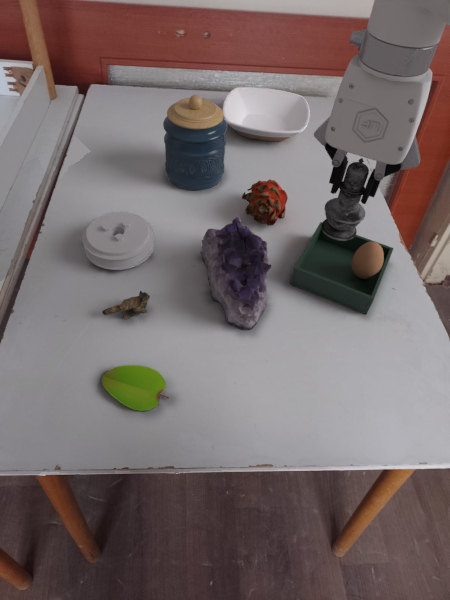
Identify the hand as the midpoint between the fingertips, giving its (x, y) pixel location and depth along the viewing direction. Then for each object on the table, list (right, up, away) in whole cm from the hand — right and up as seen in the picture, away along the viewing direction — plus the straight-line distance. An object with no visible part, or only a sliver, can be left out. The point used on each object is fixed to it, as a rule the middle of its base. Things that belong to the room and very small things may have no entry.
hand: (350, 192), depth 62 cm
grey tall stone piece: (0, -4, +5) cm, 7 cm away
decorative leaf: (-30, -28, +3) cm, 42 cm away
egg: (+7, -11, +20) cm, 24 cm away
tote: (+4, -10, +21) cm, 23 cm away
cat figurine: (-34, -17, +12) cm, 40 cm away
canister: (-24, +13, +38) cm, 47 cm away
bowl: (-8, +29, +53) cm, 61 cm away
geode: (-15, -12, +17) cm, 26 cm away
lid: (-37, -6, +21) cm, 43 cm away
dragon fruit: (-10, +2, +30) cm, 32 cm away
